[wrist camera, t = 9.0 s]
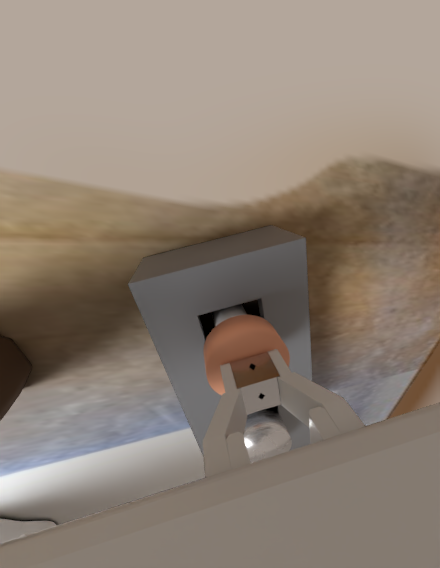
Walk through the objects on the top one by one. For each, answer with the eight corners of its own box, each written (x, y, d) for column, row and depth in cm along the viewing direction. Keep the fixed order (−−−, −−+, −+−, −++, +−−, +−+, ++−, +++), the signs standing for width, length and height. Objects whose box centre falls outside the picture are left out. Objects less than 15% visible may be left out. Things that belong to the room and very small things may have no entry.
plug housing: (290, 398, 25) (315, 444, 20) (206, 424, 24) (212, 477, 20) (271, 225, 17) (305, 237, 12) (143, 257, 16) (127, 284, 11)
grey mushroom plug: (266, 393, 23) (293, 457, 17) (226, 405, 23) (241, 474, 17) (261, 363, 21) (289, 423, 16) (218, 375, 21) (231, 442, 15)
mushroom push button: (257, 324, 18) (292, 385, 12) (205, 339, 17) (216, 408, 12) (249, 276, 16) (286, 321, 10) (191, 291, 16) (196, 347, 10)
